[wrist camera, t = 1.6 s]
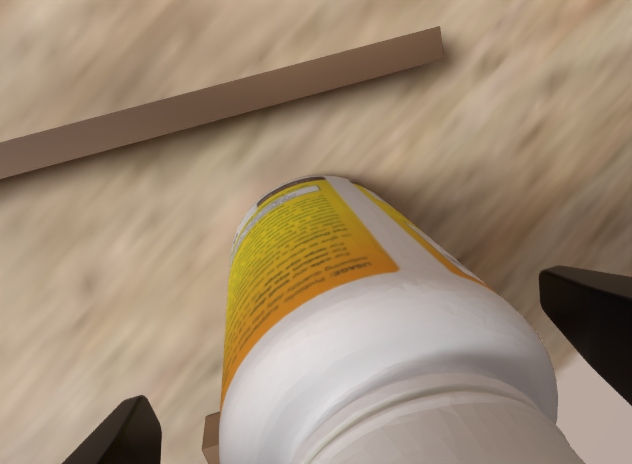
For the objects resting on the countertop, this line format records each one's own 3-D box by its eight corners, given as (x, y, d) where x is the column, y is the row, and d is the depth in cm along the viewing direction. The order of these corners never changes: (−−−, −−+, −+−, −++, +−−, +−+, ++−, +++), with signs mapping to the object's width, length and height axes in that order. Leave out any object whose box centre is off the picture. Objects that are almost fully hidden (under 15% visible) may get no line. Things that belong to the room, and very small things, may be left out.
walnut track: (478, 464, 18) (497, 494, 17) (6, 624, 17) (-15, 672, 16) (417, 32, 12) (439, 26, 11) (-346, 235, 11) (-433, 257, 9)
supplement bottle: (215, 312, 14) (153, 796, 4) (252, 151, 12) (277, 368, 3) (368, 336, 15) (571, 750, 6) (419, 193, 14) (808, 436, 4)
